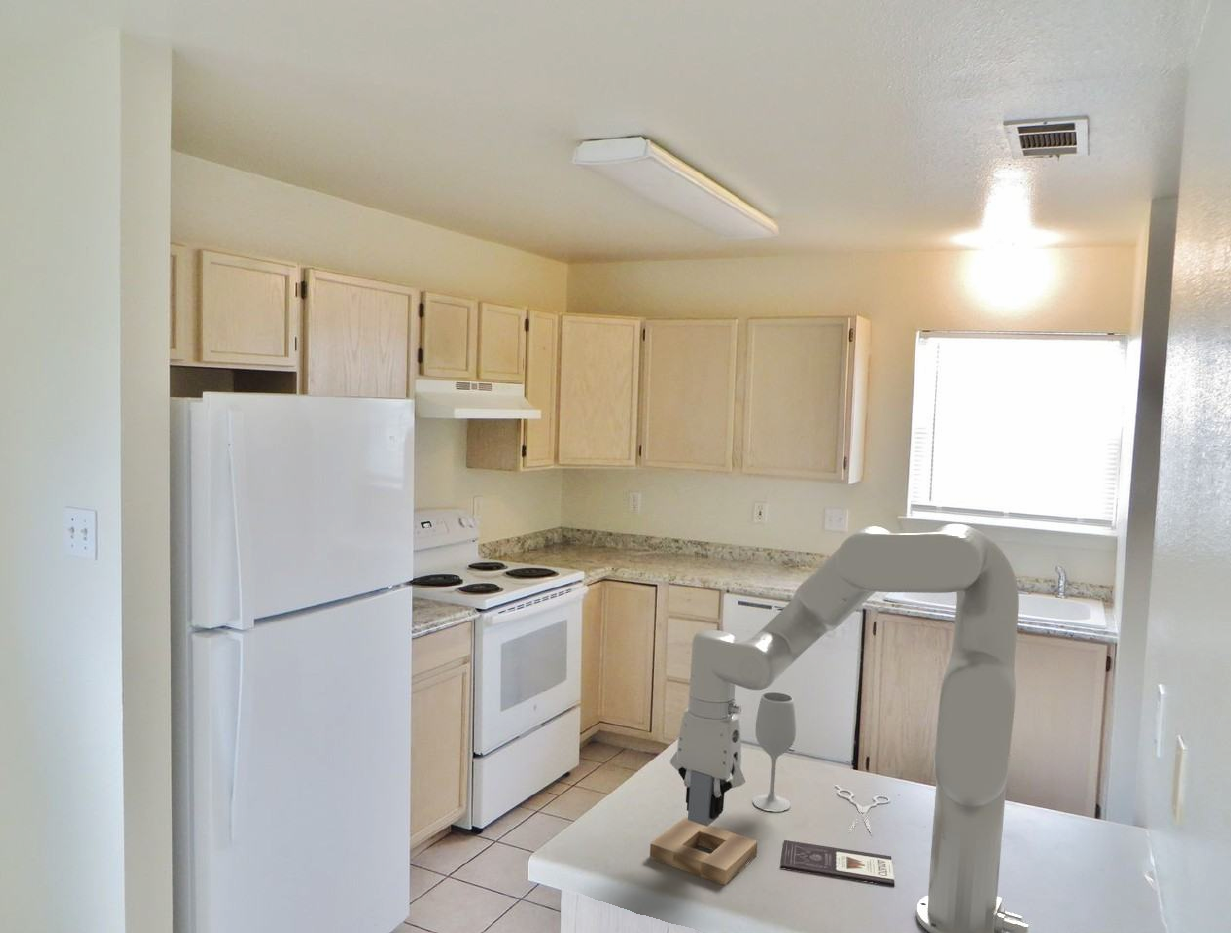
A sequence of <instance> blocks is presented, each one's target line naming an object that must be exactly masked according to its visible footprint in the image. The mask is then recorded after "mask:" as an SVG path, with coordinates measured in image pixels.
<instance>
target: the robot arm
mask: <svg viewBox="0 0 1231 933" xmlns="http://www.w3.org/2000/svg"><path fill="white" fill-rule="evenodd" d="M876 592H880V593H919V594H920V593H923V594H924V593H930V594H931V593H932V594H933V593H934V594H935V593H936V594H941V593H942V594H946V593H956V603H955V614H954V630H953V639H952V647H951V653H950V654H951V655H950V659H949V661H948V664H947V666H946V670H945V672H944V675H943V679H942V683H941V686H940V694H939V703H938V712H937V714H938V715H937V724H936V734H935V742H934V743H935V744H934V755H933V772H934V777H935V780H936V785H935V797H934V798H935V799H934V812H933V822H932V823H933V824H932V835H931V849H930V863H929V874H928V875H929V877H928V878H929V879H928V891H927V895H926V896H924V897H923V898H921V899H920V900H919V901H918V902H917V904H916V906H915V907H916V908H915V917H916V919H917V921H918V922H919V924H920V925H921V926H922V928H923V929H924V930H925V931H927V932H928V933H1029V924H1026V923H1024V922H1022V921H1023V916H1022V915H1020V914H1017V913H1014V912H1010V911H1006V909H1005V908H1003V907H1002V901H1003V900H1002V897H999V896H998V894H999V892H998V891H999V876H1000V866H1001V864H1000V863H1001V855H1002V854H1001V851H1002V841H1003V839H1002V838H1003V830H1004V817H1005V806H1006V804H1005V803H1006V792H1007V780H1008V770H1009V765H1010V764H1009V763H1010V754H1011V747H1012V739H1013V738H1012V737H1013V736H1012V735H1013V728H1014V718H1015V707H1016V698H1017V696H1016V691H1017V690H1016V688H1017V686H1016V685H1017V684H1016V675H1015V668H1016V667H1015V663H1016V650H1017V642H1018V641H1017V640H1018V623H1019V608H1020V606H1019V605H1020V601H1019V599H1020V598H1019V597H1020V596H1019V587H1018V583H1017V577H1016V574H1015V572H1014V569H1013V567H1012V564H1011V562H1010V560H1009V559H1008V557H1007V556H1006V554H1005V552H1004V551H1003V550H1002V549H1001V548H1000V546H999V545H998V543H995V541H994V540H993V539H991V538H990V537H989V536H987V535H986V534H985V533H983V532H981V531H980V530H978V529H976V528H974V527H971V526H969V525H966V524H961V523H949V524H945V525H943V526H940V527H938V528H937V529H935V530H934V531H933V532H918V533H916V532H915V533H892V532H891V531H889V530H888V529H886V528H884V527H880V526H877V525H876V526H874V525H873V526H865V527H863V528H861V529H859V530H857V531H855V532H854V533H852V534H851V535H849V536H848V537H847V538H845V539H844V541H842V544H841V545H840V547H839V548H838V549H836V550H835V552H834V553H832V554H831V556H829V558H828V559H826V560H825V561H824V562H823V563H822V564H821V565H820V566H819V567H818V568H817V569H816V570H815V571H813V573H812V574H810V576H809V577H807V578H806V579H805V580H804V581H803V582H802V583H801V584H800V585H799V587H798V588H797V589H796V590H795V592H794V595H793V597H792V598H791V600H790V601H789V602H788V603H787V604H786V605H785V606H784V607H783V608H782V609H781V610H780V611H779V612H778V613H777V614H776V615H775V616H774V617H773V618H772V619H771V620H770V621H769V622H767V624H766V625H765V626H764V627H763V628H762V629H760V630H759V631H758V632H757V633H756V634H754V635H753V636H752V637H750V638H749V639H748V640H746V641H742V642H738V639H737V637H736V636H735V635H733V634H732V633H730V632H728V631H724V630H719V629H705V630H701V631H698V632H696V634H695V635H694V636H693V639H692V646H691V647H692V648H691V661H690V662H691V664H690V676H689V677H690V678H689V693H688V694H689V695H688V707H687V708H685V709H684V712H683V713H684V714H683V716H682V720H681V724H680V727H679V732H678V740H677V746H676V747H677V749H676V751H675V753H674V754H673V756H672V757H671V758H670V760H669V763H670V765H671V766H672V767H673V768H674V769H675V770H676V771H678V774H679V775H680V777H681V779H682V780H683V784H684V786H685V788H686V789H685V790H686V792H685V803H686V811H687V812H688V809H689V794H690V779H691V770H692V771H696V772H699V773H702V774H705V775H708V776H711V777H713V787H714V794H713V795H712V796H711V803H710V819H715V818H716V817H717V816H719V817H720V815H722V813H723V811H724V804H725V793H727V792H728V791H730V790H732V789H736V788H738V787H741V786H742V785H744V784H745V783H746V780H745V777H744V774H743V772H742V770H741V764H742V763H741V761H742V759H741V758H742V757H741V756H742V750H741V749H742V743H741V740H742V739H741V728H740V721H739V717H738V715H741V714H742V713H741V712H742V707H741V706H740V705H738V704H736V701H737V700H736V698H735V697H736V695H735V694H736V686H738V687H740V688H743V689H745V690H750V691H763V690H765V689H768V688H770V686H772V684H773V683H774V682H776V681H777V679H778V678H779V677H780V676H781V675H782V674H783V673H784V672H786V670H788V668H789V667H790V666H792V664H794V662H795V661H797V659H799V657H801V656H802V654H804V653H805V652H806V651H807V650H808V649H809V648H811V647H812V645H813V644H815V643H816V642H817V641H818V640H819V639H820V638H822V636H824V635H825V634H828V633H829V632H831V631H833V630H835V629H837V628H838V627H839V626H840V625H842V624H843V623H844V622H845V621H846V620H847V619H848V618H849V617H850V616H851V615H852V614H853V613H855V612H856V611H857V610H858V609H859V608H860V607H861V606H862V605H864V603H865V602H866V601H868V600H869V599H870V598H871V597H872V596H873V595H874V594H875V593H876ZM730 776H732V779H730Z"/></svg>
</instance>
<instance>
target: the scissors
mask: <svg viewBox="0 0 1231 933" xmlns="http://www.w3.org/2000/svg"><path fill="white" fill-rule="evenodd" d="M834 787H835V788H836V789H837V791H836V792H837V793H836V794H837V796H839V798H843V799H845V800H847V801H848V802H849V803H851V804H853V805H854V806H856V809H858V810H857V812H858V811H859V812H861V813H862V814H864V815H865V814H866V813H867V814H868V812H869V811H870V809H871V808H876V807H877V805H887V804H889V803H891V799H890V797H888V796H887V795H882V794H880V795H879V794H878V795H875V796H873V797H872V800H873V801H874V803H872V804H870V805H864V806H862V805H860V804H858V803H857V802H855V801H854V800H853V799H852V798H854V797H855V794H854V792H852V791H850V790H848V789H843V788H841V787H840V786H839V784H835V785H834ZM843 792H844V793H847V794H849V795H844V794H842V793H843ZM879 798H884V799H886V800H887V801H881V800H880V801H879V800H878V799H879ZM868 810H869V811H868ZM867 811H868V812H867ZM859 812H858V813H859ZM864 815H863V816H864ZM865 819H866V818H865ZM856 820H857V819H856ZM861 821H863V819H862V818H861ZM864 821H865V820H864ZM864 821H863V822H864ZM867 821H868V822H867ZM866 822H867V823H866ZM866 822H865V823H866V825H865V826H867V827H866V828H867V830H868V829H869V830H868V831H870V830H871V825H870V820H869V818H868V819H867V820H866ZM854 823H855V822H854V821H853V822H852V824H853V825H851V827H850V828H849V831H850V830H851V831H853V829H854V828H855V827H856V826H855V825H854ZM856 823H857V822H856ZM865 823H864V824H865ZM852 826H853V829H851V828H852ZM854 826H855V827H854ZM870 832H871V833H870ZM870 832H869V833H870V834H871V835H870V836H873V833H872V830H871V831H870Z"/></svg>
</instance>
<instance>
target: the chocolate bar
mask: <svg viewBox="0 0 1231 933" xmlns="http://www.w3.org/2000/svg"><path fill="white" fill-rule="evenodd" d="M780 862H781V863H780V869H782V868H785V869H784V870H788V869H790V870H789V871H796V872H803V873H807V872H809V873H808V874H814V875H821V876H826V877H833V878H839V879H843V880H851V881H856V880H858V882H862V881H867V882H866V883H868V882H873V883H872V884H874V883H877V884H876V885H880V884H881V885H882V886H888V887H893V888H894V887H895V885H896V884H895V883H896V882H895V877H894V869H893V868H894V867H893V859H892V856H891V855H886V854H878V853H871V852H866V851H865V852H864V851H858V850H853V849H846V848H838V847H832V846H827V845H826V846H825V845H819V844H814V843H807V842H801V841H795V840H794V841H793V840H786V839H783V846H782V854H781V861H780Z"/></svg>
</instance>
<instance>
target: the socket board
mask: <svg viewBox="0 0 1231 933" xmlns="http://www.w3.org/2000/svg"><path fill="white" fill-rule="evenodd" d="M649 844H650V847H649V848H650V849H649V858H650V859H653V860H655V861H658V862H660V863H662V864H666V865H667V866H671V867H673V868H677V869H680V870H682V871H685V872H688V873H690V874H692V875H695V876H698V877H701V878H703V879H706V880H708V881H711V880H712V881H711V882H714V881H715V882H714V883H717V882H718V883H717V884H720V883H721V884H720V885H722V884H724V885H723V886H727V885H728V884H729V883H730V882H731V881H732V880H733V879H734V878H735V877H736V876H737V875H738V874H739V873H740V872H741V871H742V870H743V869H744V868H745V867H746V866H747V865H748V864H749V863H750V862H751V861H752V860H753V859H752V858H753V857H754V856H756V854H757V855H758V844H759V843H758V840H755V839H753V838H750V837H746V836H743V835H741V834H738V833H734V832H731V831H728V830H725V829H722V828H719V827H716V826H713V825H711V824H710V825H708V826H707V827H706V826H703V825H701V824H698V823H695V822H692V821H689V820H688V817H686V816H685V817H683V818H682V819H681V820H679V821H678V822H677V823H675V824H674V825H673V826H671V827H670V828H669V829H667V830H666V831H664V833H663V834H661V835H660V836H658V837H657V838H656V839H654V840H653V841H652V842H651V843H649ZM698 846H700V847H704V848H707V849H709V850H711V851H712V852H711V853H708V852H705V851H702V850H700V849H696V848H697V847H698ZM756 857H757V856H756ZM751 859H752V860H751ZM750 860H751V861H750ZM749 861H750V862H749ZM748 862H749V863H748ZM747 863H748V864H747ZM746 864H747V865H746ZM745 865H746V866H745ZM744 866H745V867H744ZM743 867H744V868H743ZM742 868H743V869H742ZM741 869H742V870H741ZM740 870H741V871H740ZM739 871H740V872H739ZM738 872H739V873H738ZM737 873H738V874H737ZM736 874H737V875H736ZM735 875H736V876H735ZM734 876H735V877H734ZM733 877H734V878H733ZM730 880H731V881H730ZM729 881H730V882H729ZM728 882H729V883H728ZM727 883H728V884H727ZM726 884H727V885H726Z"/></svg>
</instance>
